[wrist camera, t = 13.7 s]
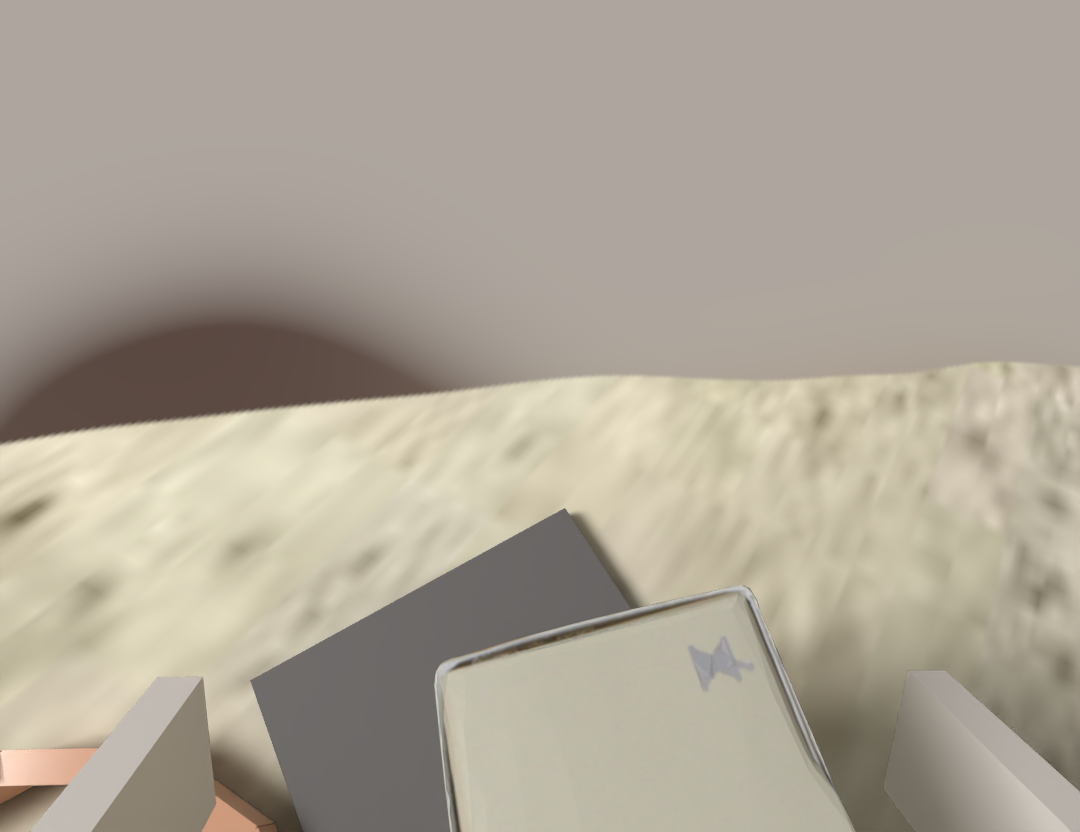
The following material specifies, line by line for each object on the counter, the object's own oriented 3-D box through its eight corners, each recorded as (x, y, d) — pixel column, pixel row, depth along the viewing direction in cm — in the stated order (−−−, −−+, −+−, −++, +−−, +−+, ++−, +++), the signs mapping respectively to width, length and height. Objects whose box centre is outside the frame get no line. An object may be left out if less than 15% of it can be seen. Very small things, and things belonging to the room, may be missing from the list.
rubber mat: (562, 514, 22) (564, 507, 21) (870, 986, 16) (884, 993, 15) (256, 683, 18) (250, 680, 18) (502, 1381, 12) (503, 1406, 12)
